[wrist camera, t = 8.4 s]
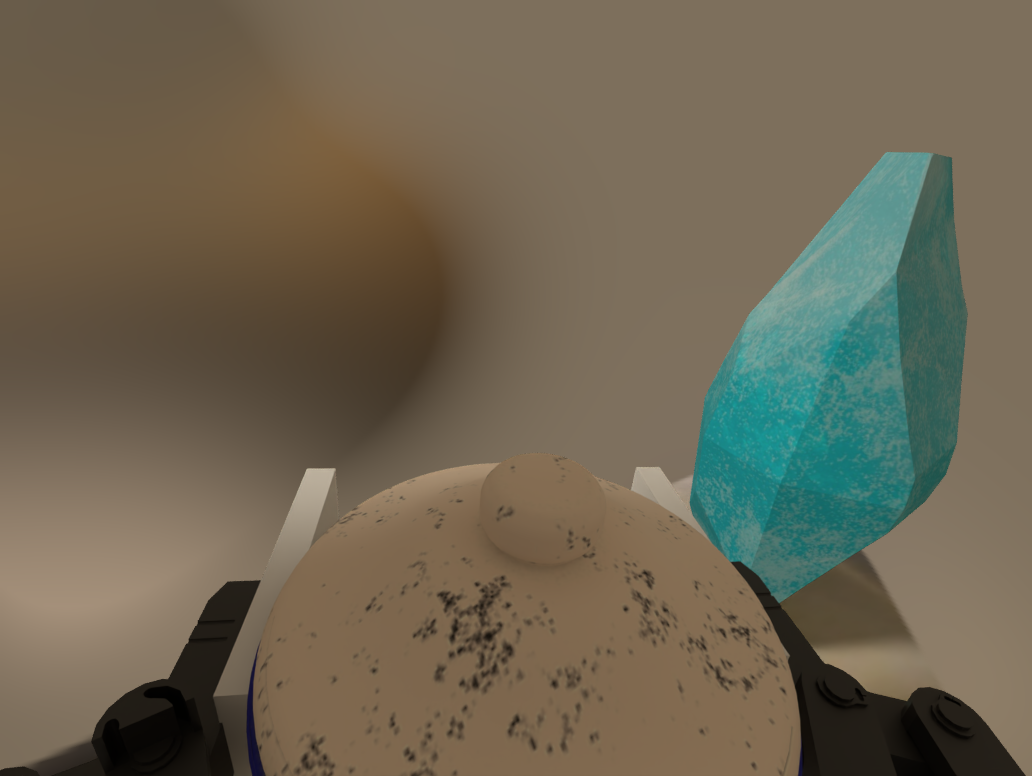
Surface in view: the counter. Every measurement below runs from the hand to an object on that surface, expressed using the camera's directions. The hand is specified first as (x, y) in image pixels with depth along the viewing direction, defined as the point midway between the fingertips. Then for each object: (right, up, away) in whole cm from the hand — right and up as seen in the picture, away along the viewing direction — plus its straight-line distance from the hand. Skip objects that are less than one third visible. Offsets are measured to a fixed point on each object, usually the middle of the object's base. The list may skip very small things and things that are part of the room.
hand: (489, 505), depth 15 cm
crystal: (+17, -13, +21) cm, 30 cm away
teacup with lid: (0, -8, -1) cm, 8 cm away
